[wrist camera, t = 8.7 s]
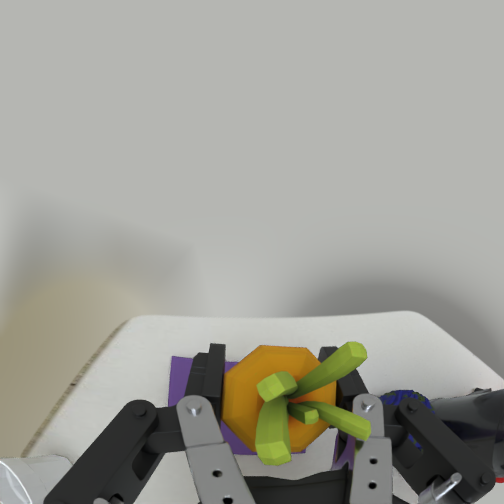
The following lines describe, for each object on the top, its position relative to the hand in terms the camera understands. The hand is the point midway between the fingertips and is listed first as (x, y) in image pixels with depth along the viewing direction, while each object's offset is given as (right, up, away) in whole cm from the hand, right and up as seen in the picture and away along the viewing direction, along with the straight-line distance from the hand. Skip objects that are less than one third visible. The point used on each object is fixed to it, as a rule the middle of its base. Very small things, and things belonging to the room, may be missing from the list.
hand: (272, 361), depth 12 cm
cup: (-23, -20, +4) cm, 31 cm away
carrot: (-1, -5, +6) cm, 8 cm away
